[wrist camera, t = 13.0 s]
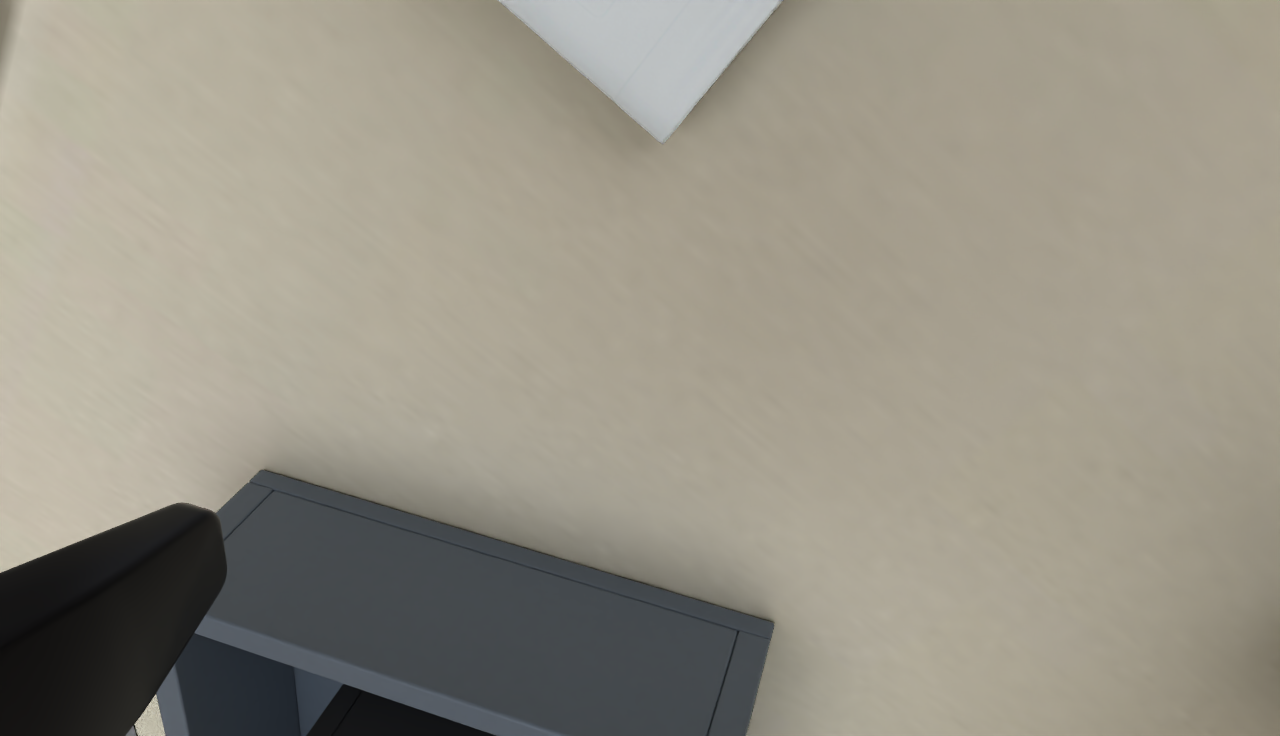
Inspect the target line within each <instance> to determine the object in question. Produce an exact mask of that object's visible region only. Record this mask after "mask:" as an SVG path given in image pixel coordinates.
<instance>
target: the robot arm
mask: <svg viewBox="0 0 1280 736" xmlns="http://www.w3.org/2000/svg"><path fill="white" fill-rule="evenodd" d="M226 576H227V560H226V554H225V547H224V540H223V534H222V527H221V522H220V519H219V517H218V516H217V514H216V513H215V512H213V511H211V510H208V509H205V508H202V507H198V506H195V505H192V504H189V503H176V504H173V505H170V506H167V507H165V508H162V509H160V510H157V511H155V512H152V513H150V514H147V515H145V516H142V517H140V518H137V519H135V520H132V521H130V522H127V523H125V524H122V525H120V526H117V527H115V528H112V529H110V530H107V531H104V532H102V533H99V534H97V535H94V536H92V537H89V538H87V539H84V540H82V541H79V542H77V543H74V544H72V545H69V546H67V547H64V548H62V549H59V550H57V551H54V552H52V553H49V554H47V555H44V556H42V557H39V558H37V559H34V560H32V561H29V562H27V563H24V564H22V565H19V566H17V567H14V568H12V569H9V570H7V571H4V572H1V573H0V736H126V734H127V733H128V732H129V730H130V729H131V728H132V726H133V725H134V724H135V722H136V721H137V720H138V718H139V717H140V716H141V714H142V713H143V712H144V710H145V709H146V707H147V706H148V704H149V703H150V701H151V700H152V699H153V697H154V696H155V694H156V693H157V691H158V689H159V688H160V686H161V685H162V683H163V682H164V680H165V678H166V677H167V675H168V674H169V672H170V671H171V669H172V667H173V666H174V664H175V663H176V661H177V659H178V658H179V656H180V655H181V653H182V652H183V650H184V648H185V647H186V645H187V644H188V642H189V640H190V639H191V637H192V636H193V634H194V633H195V631H196V629H197V628H198V626H199V625H200V623H201V622H202V620H203V618H204V617H205V615H206V614H207V612H208V610H209V609H210V607H211V606H212V604H213V603H214V601H215V599H216V598H217V596H218V595H219V593H220V591H221V589H222V587H223V585H224V583H225V580H226Z"/></svg>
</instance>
